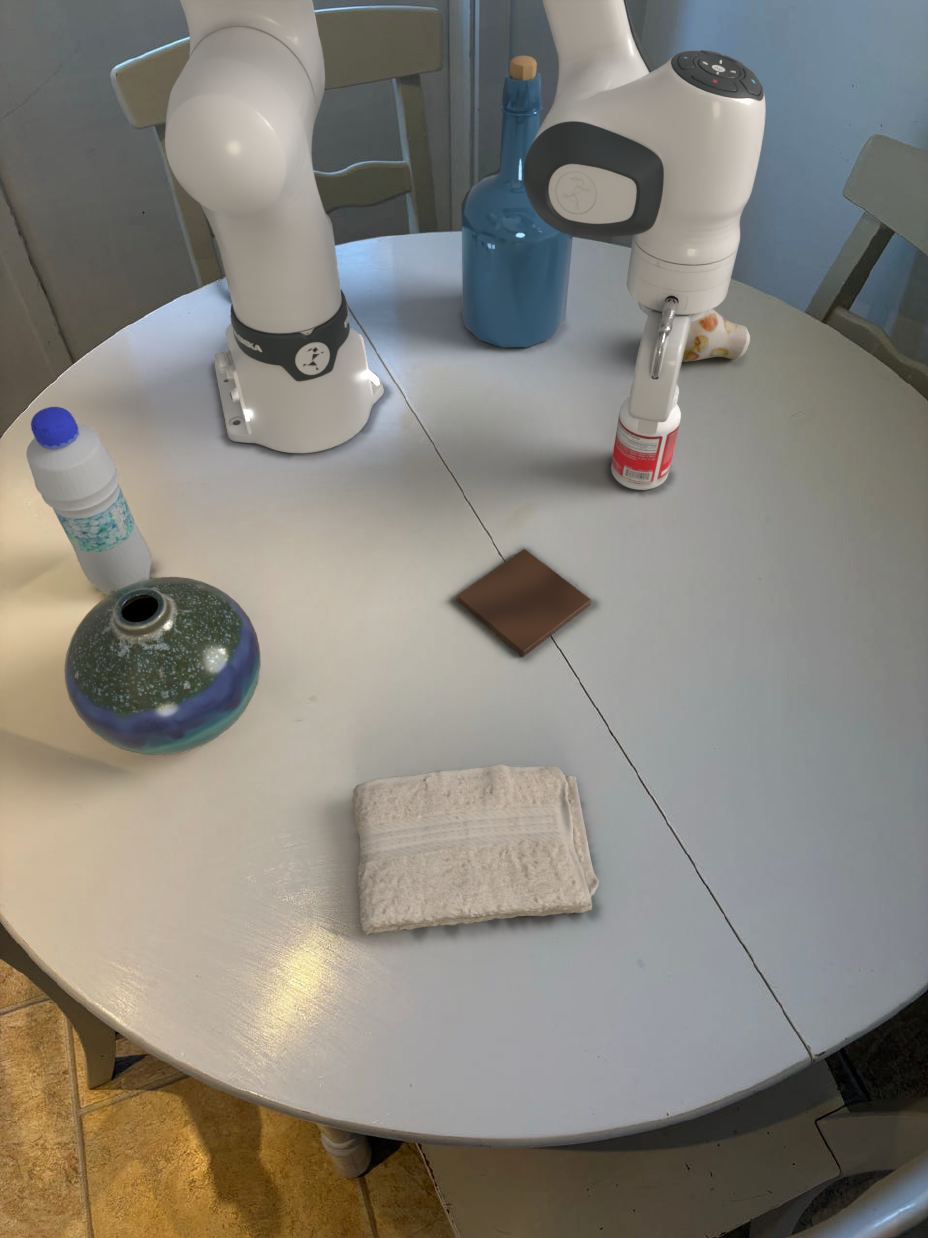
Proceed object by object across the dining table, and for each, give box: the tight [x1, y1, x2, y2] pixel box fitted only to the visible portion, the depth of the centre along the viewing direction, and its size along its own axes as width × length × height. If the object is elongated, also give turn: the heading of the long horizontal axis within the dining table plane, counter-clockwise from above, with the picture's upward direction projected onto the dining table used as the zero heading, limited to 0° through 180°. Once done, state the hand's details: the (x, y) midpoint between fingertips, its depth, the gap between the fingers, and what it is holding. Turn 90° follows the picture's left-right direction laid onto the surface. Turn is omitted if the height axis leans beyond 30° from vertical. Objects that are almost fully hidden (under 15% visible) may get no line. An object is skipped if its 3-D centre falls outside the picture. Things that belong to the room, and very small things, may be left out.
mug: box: [682, 308, 751, 363], centre depth 106 cm, size 8×10×10 cm
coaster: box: [456, 548, 592, 657], centre depth 84 cm, size 9×9×1 cm
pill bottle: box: [610, 384, 682, 491], centre depth 91 cm, size 6×6×11 cm
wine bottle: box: [460, 55, 574, 348], centre depth 102 cm, size 14×13×30 cm
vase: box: [63, 576, 261, 756], centre depth 73 cm, size 15×15×13 cm
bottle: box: [26, 406, 153, 596], centre depth 79 cm, size 7×7×20 cm
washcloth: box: [352, 763, 600, 936], centre depth 68 cm, size 12×18×3 cm, turn 97°
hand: (654, 398), depth 88 cm, fingers open, 8 cm apart
